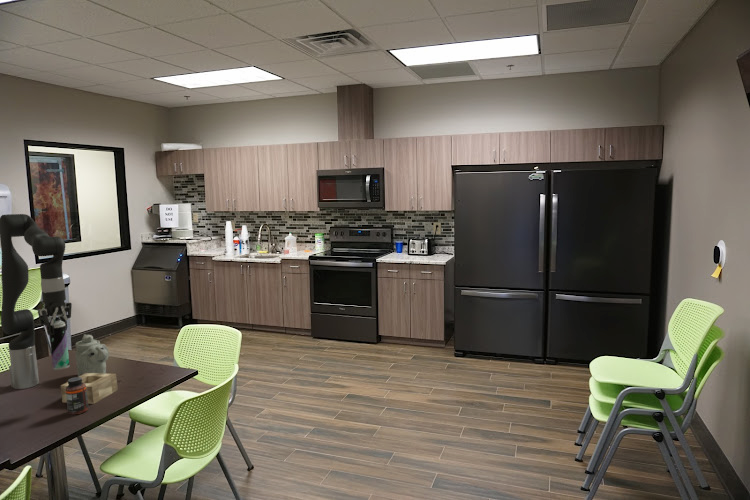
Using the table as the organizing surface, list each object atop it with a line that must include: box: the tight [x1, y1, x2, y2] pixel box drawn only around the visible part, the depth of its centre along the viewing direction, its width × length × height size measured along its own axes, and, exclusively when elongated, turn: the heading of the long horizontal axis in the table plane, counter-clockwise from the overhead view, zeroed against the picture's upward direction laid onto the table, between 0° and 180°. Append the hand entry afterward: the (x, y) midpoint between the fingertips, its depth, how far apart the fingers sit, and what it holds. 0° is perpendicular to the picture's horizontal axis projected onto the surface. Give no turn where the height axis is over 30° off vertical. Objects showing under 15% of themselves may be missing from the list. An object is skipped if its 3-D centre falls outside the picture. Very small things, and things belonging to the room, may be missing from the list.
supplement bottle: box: [66, 376, 89, 416], centre depth 191 cm, size 7×7×13 cm
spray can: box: [49, 316, 70, 371], centre depth 196 cm, size 6×6×20 cm
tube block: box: [60, 373, 118, 405], centre depth 207 cm, size 14×14×7 cm
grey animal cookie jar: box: [74, 334, 110, 377], centre depth 229 cm, size 16×15×19 cm
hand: (57, 332), depth 195 cm, fingers closed on spray can, 5 cm apart
